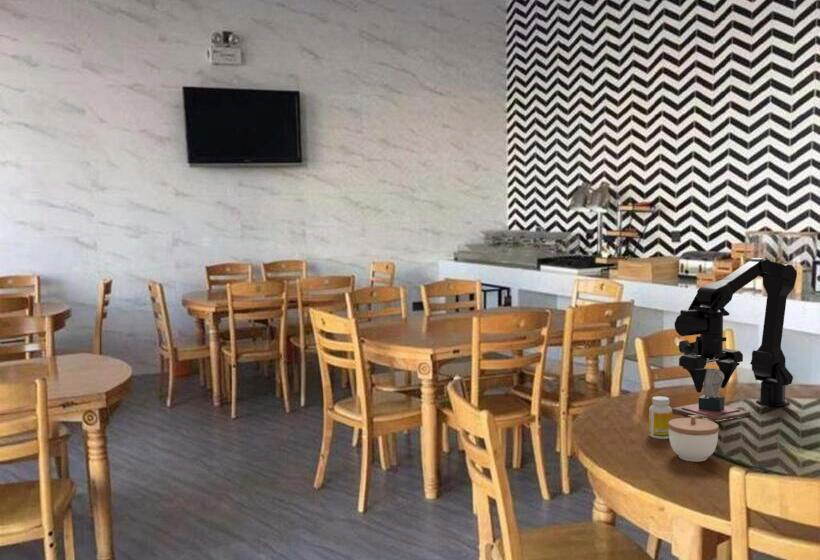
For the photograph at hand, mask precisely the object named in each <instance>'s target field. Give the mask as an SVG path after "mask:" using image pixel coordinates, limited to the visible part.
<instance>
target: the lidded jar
mask: <svg viewBox="0 0 820 560" xmlns="http://www.w3.org/2000/svg"><path fill="white" fill-rule="evenodd" d="M668 427H669V438H668V439H669V444H670V447H671V449H672V450H673V452H674V453H676V455H678V458H679V459H681V460H684V461H686V462H695V463H696V462H705V461H707V460H708V459H709V457H710V456H712V455H713V453H714V452H715V450H716V449H717V445H718V442H719V430H720V429H719V428H720V426H719V424H718V422H717V423H715V422H712V421H709V420H705V419H699V418H696V417H695V416H691V417H679V418H678V417H677V418H672V420H670V421H669V422H668Z"/></svg>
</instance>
